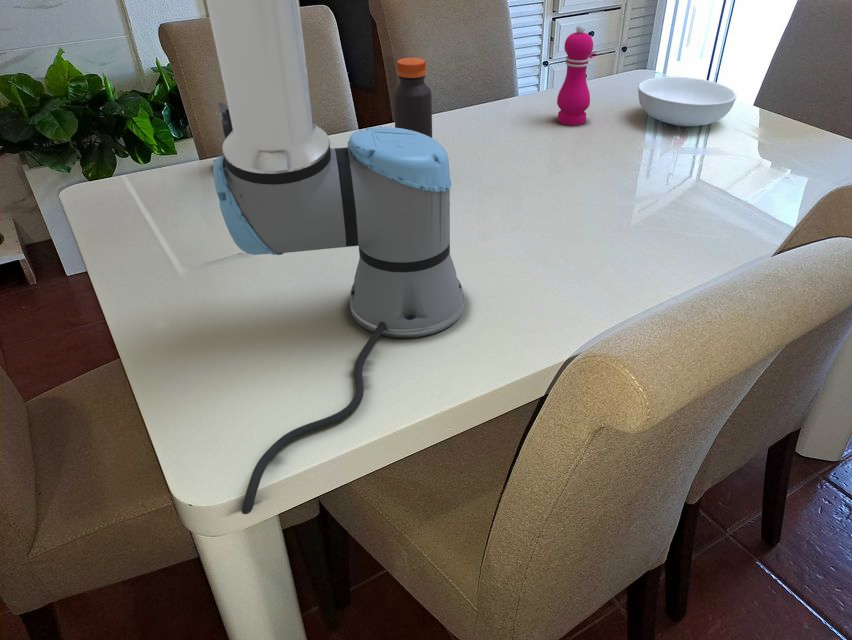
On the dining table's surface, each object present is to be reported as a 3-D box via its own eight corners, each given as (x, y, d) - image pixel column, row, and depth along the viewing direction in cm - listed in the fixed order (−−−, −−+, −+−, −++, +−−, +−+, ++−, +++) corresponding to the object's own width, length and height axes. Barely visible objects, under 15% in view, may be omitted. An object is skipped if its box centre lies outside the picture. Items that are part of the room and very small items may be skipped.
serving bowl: (725, 141, 147) (733, 108, 143) (626, 128, 153) (630, 96, 149) (732, 112, 163) (740, 81, 159) (642, 101, 169) (646, 71, 165)
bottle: (394, 166, 135) (388, 57, 123) (428, 163, 136) (426, 55, 124) (400, 180, 130) (395, 67, 118) (436, 177, 131) (434, 65, 119)
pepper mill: (548, 120, 157) (556, 24, 145) (569, 113, 161) (578, 19, 149) (573, 128, 153) (583, 30, 141) (594, 121, 157) (605, 24, 145)
